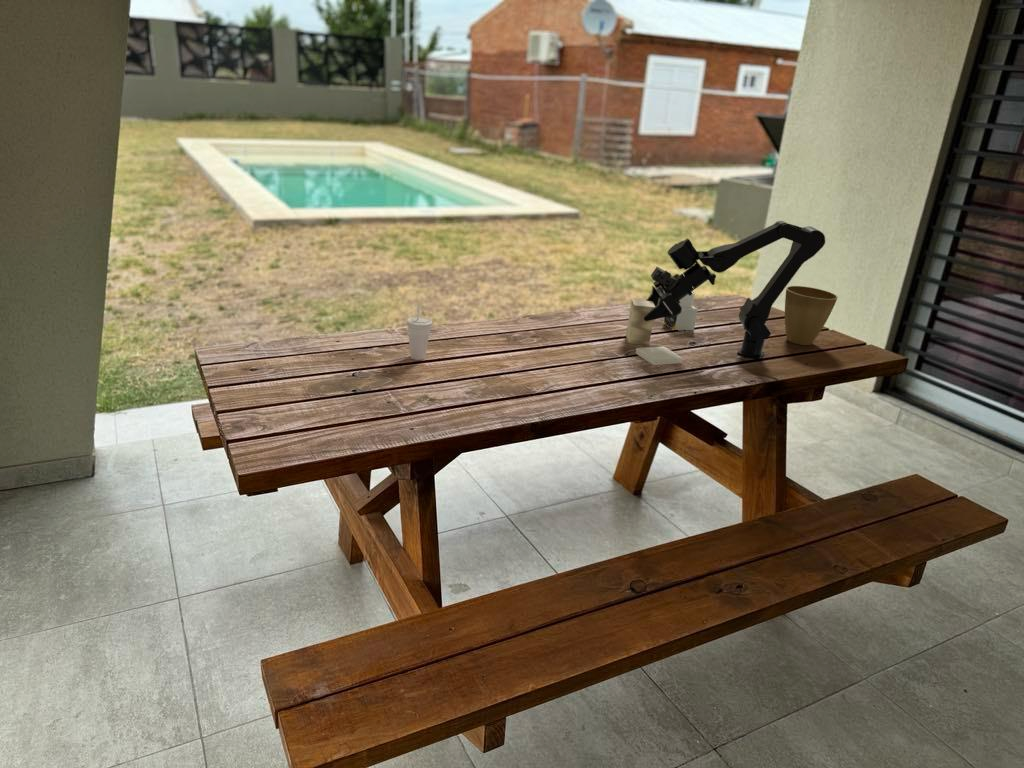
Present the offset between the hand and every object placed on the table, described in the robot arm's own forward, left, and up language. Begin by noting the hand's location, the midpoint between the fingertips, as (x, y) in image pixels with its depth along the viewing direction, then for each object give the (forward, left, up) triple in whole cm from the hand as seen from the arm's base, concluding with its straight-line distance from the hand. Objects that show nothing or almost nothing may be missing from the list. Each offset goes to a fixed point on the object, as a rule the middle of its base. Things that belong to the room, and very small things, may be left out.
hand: (642, 314), depth 211 cm
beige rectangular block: (0, 0, -9) cm, 9 cm away
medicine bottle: (-25, +4, -9) cm, 27 cm away
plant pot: (-41, +38, -9) cm, 56 cm away
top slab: (+10, +10, -8) cm, 16 cm away
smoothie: (+54, -38, -9) cm, 67 cm away
